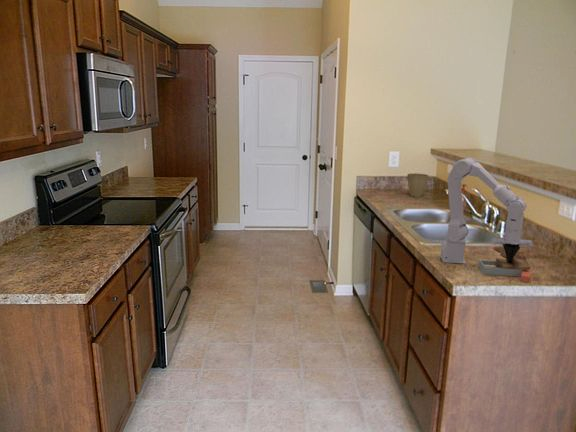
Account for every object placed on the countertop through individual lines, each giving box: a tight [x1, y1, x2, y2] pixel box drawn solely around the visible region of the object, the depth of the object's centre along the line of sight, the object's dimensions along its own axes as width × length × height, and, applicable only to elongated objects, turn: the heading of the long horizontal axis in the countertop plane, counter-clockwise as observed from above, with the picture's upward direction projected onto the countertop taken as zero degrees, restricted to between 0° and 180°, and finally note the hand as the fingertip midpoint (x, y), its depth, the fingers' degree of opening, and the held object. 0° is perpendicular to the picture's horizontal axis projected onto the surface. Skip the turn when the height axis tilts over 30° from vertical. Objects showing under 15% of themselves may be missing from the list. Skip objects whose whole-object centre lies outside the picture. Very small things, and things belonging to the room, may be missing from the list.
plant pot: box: [407, 172, 430, 198], centre depth 333 cm, size 15×15×16 cm
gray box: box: [477, 259, 522, 278], centre depth 184 cm, size 14×9×3 cm, turn 83°
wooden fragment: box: [492, 245, 530, 266], centre depth 205 cm, size 26×11×1 cm, turn 177°
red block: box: [520, 269, 532, 284], centre depth 178 cm, size 3×9×3 cm, turn 150°
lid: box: [495, 258, 531, 270], centre depth 183 cm, size 10×9×2 cm
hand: (508, 261), depth 183 cm, fingers closed
